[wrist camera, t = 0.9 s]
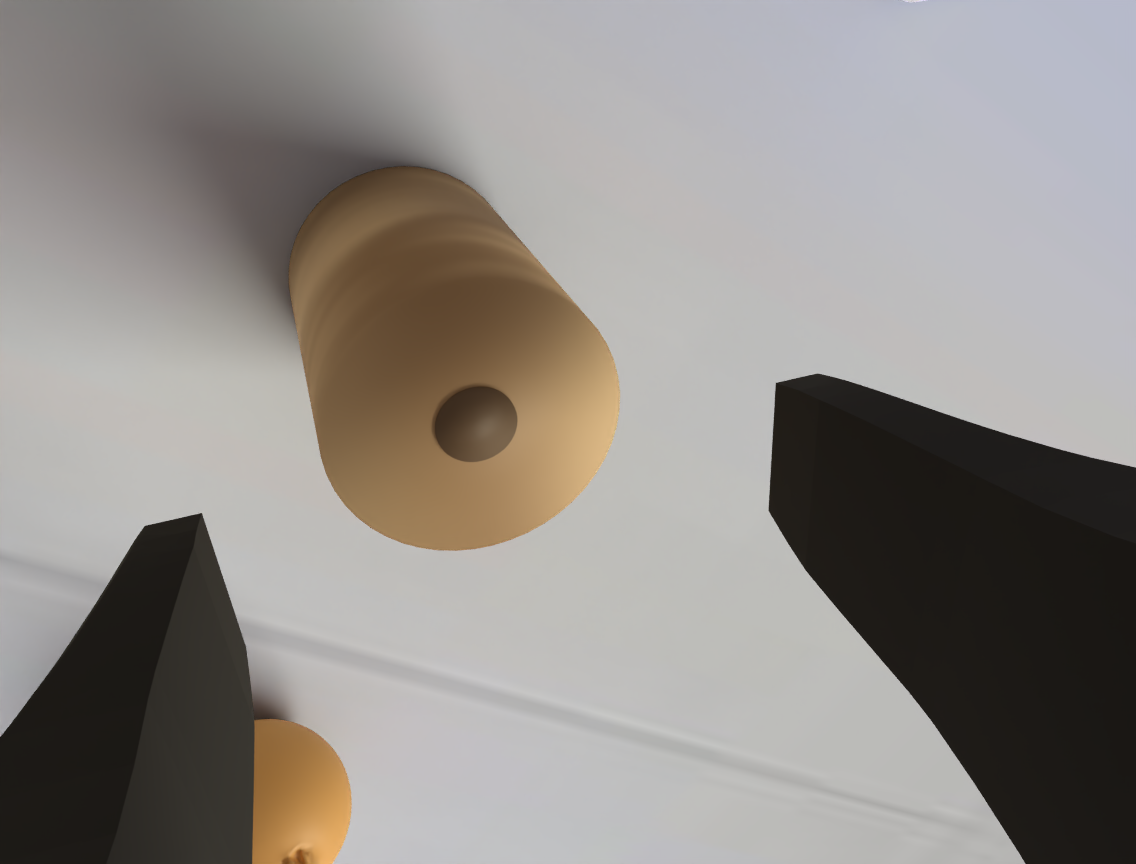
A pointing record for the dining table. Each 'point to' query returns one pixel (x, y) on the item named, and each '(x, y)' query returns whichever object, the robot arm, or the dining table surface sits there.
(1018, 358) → the dining table surface
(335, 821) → the figurine
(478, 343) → the oak bead
